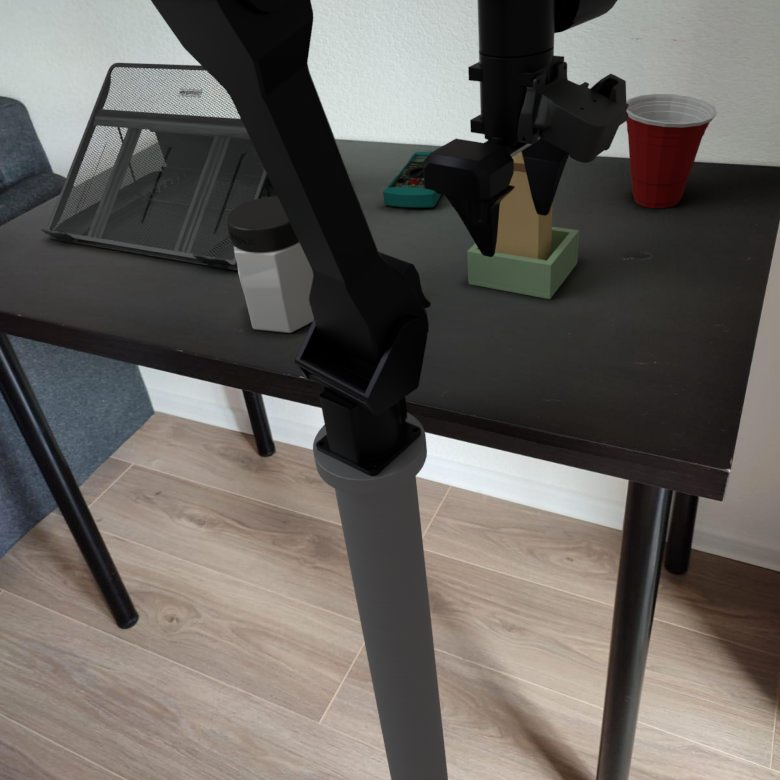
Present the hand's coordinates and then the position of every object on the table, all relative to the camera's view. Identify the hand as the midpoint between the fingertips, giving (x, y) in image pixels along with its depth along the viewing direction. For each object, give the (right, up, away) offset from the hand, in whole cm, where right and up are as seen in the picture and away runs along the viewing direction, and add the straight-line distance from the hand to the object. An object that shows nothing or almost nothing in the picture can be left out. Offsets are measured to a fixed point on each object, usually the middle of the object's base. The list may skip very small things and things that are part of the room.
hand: (516, 234), depth 69 cm
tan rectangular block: (+4, 0, +18) cm, 19 cm away
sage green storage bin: (+4, -1, +19) cm, 19 cm away
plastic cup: (+23, +10, +31) cm, 40 cm away
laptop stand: (-38, +11, +41) cm, 58 cm away
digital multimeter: (-6, +15, +41) cm, 44 cm away
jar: (-23, -6, +17) cm, 29 cm away
